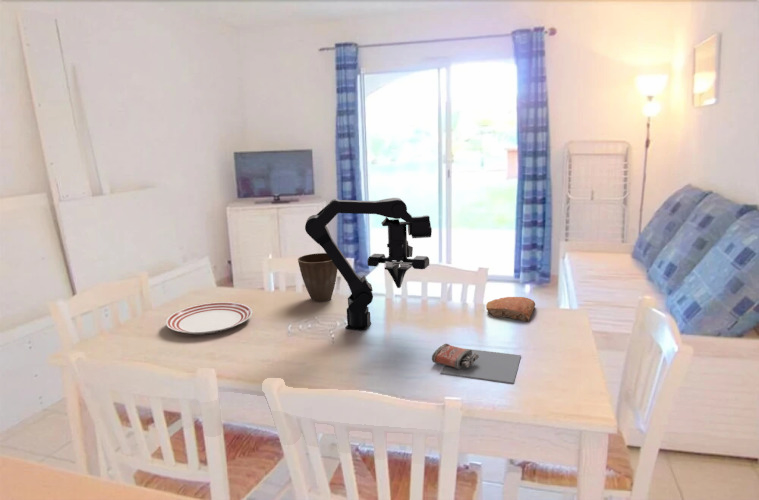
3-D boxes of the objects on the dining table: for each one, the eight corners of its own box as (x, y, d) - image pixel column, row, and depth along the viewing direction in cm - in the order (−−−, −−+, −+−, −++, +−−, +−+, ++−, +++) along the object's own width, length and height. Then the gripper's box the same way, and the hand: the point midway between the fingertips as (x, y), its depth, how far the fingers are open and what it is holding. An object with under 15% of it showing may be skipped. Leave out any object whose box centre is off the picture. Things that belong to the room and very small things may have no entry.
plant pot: (293, 303, 186) (290, 261, 183) (312, 291, 200) (309, 252, 196) (330, 306, 181) (327, 263, 178) (347, 294, 195) (344, 253, 191)
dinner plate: (269, 320, 171) (268, 311, 170) (195, 347, 151) (194, 337, 150) (223, 305, 188) (222, 296, 188) (151, 328, 168) (149, 318, 167)
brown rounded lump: (493, 289, 178) (537, 299, 172) (490, 306, 179) (533, 317, 173) (484, 296, 164) (531, 307, 159) (480, 315, 165) (527, 327, 160)
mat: (440, 373, 128) (440, 372, 128) (454, 348, 142) (454, 347, 142) (513, 383, 121) (513, 382, 121) (520, 356, 136) (520, 355, 136)
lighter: (432, 365, 133) (466, 374, 127) (431, 353, 132) (466, 362, 126) (447, 352, 139) (481, 360, 133) (447, 340, 138) (480, 349, 132)
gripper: (433, 235, 160) (434, 282, 164) (378, 233, 167) (380, 278, 171) (423, 242, 150) (424, 292, 154) (365, 240, 157) (367, 288, 161)
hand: (399, 287), depth 160 cm, fingers closed
